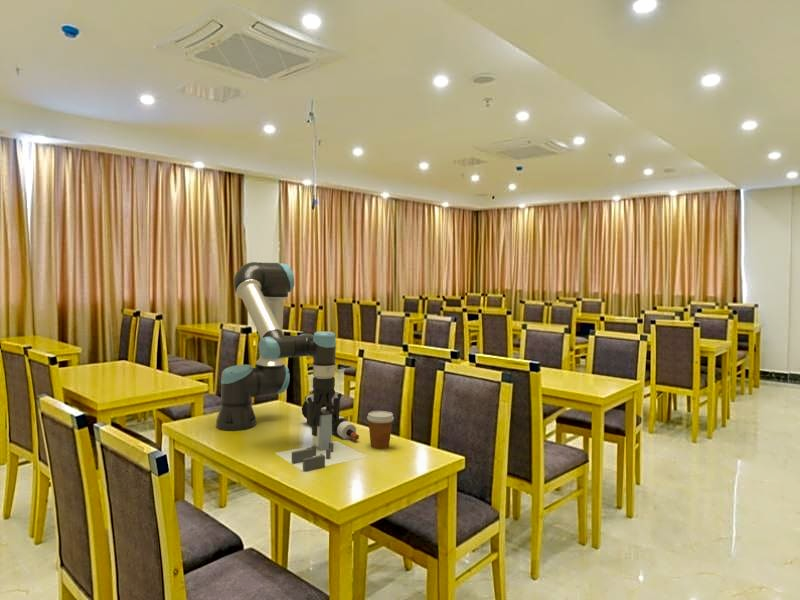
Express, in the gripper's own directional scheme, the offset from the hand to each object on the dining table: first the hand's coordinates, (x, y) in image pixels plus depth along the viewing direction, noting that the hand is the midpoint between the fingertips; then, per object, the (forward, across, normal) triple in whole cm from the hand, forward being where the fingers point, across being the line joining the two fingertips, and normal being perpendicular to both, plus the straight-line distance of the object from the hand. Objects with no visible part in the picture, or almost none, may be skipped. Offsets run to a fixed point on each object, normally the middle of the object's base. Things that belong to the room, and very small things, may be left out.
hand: (322, 443), depth 188 cm
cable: (+3, +14, +16) cm, 21 cm away
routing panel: (+2, -4, -6) cm, 8 cm away
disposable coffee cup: (+2, +18, -9) cm, 20 cm away
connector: (+2, 0, 0) cm, 2 cm away
